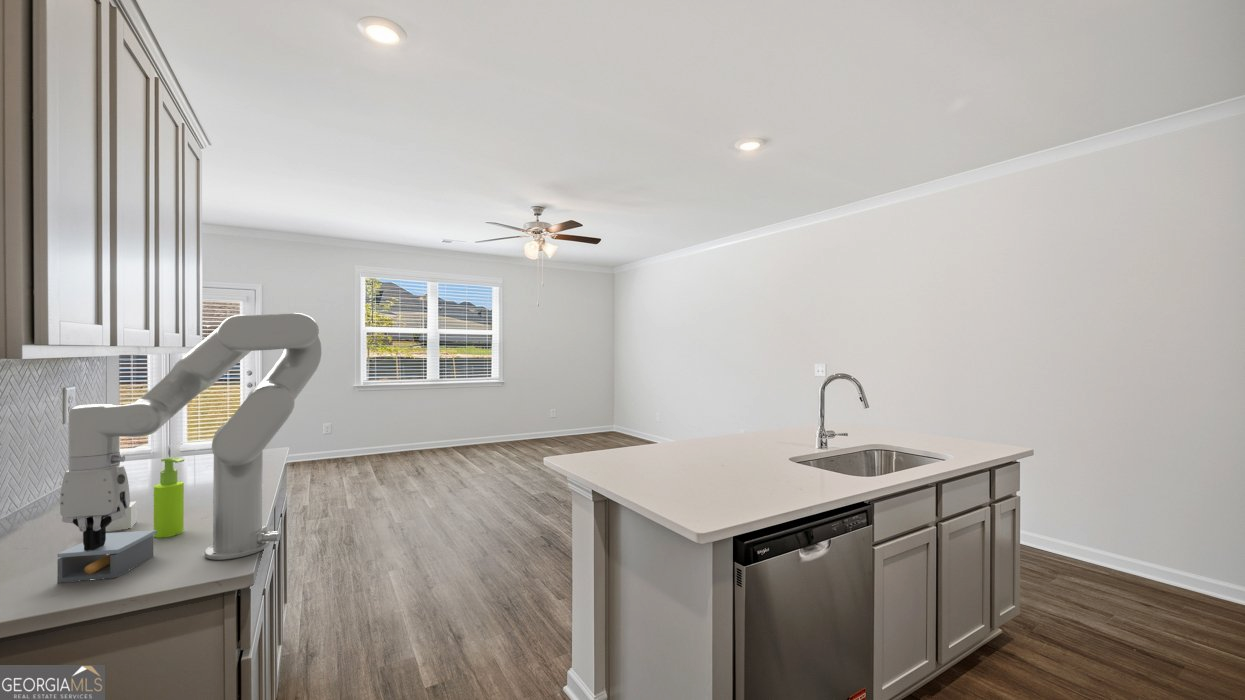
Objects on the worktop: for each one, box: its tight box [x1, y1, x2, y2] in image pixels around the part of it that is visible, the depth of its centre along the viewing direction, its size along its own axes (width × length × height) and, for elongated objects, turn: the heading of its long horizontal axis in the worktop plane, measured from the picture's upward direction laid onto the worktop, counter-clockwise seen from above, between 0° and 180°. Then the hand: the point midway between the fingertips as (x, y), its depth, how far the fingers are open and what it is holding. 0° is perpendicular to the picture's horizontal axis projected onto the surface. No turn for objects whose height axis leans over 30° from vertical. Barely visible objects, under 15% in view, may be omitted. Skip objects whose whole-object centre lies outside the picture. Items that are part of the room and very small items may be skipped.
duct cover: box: [57, 529, 157, 559], centre depth 113 cm, size 11×12×1 cm
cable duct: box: [56, 535, 154, 584], centre depth 113 cm, size 10×12×5 cm
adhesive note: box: [106, 500, 138, 533], centre depth 139 cm, size 6×6×6 cm
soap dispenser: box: [153, 457, 185, 539], centre depth 134 cm, size 6×7×20 cm
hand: (94, 547), depth 109 cm, fingers closed
